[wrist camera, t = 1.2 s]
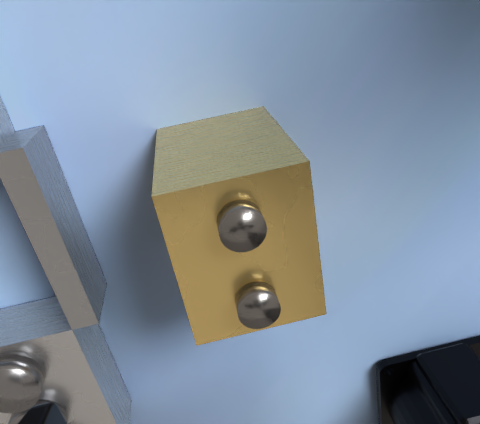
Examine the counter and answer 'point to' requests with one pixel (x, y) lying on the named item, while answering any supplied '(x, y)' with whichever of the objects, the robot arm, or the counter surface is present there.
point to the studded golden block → (238, 223)
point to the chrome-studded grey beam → (54, 298)
